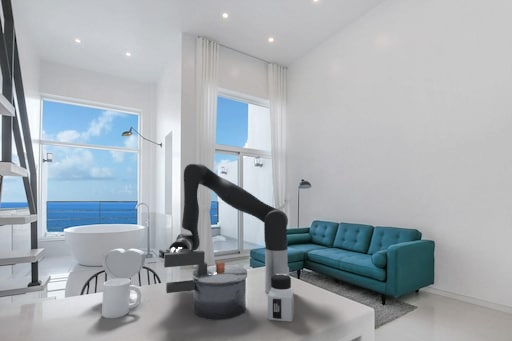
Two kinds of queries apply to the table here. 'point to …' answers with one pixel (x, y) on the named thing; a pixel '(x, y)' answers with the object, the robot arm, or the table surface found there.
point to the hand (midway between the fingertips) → (170, 258)
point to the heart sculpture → (123, 264)
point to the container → (281, 298)
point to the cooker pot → (214, 298)
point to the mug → (118, 297)
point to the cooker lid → (205, 268)
